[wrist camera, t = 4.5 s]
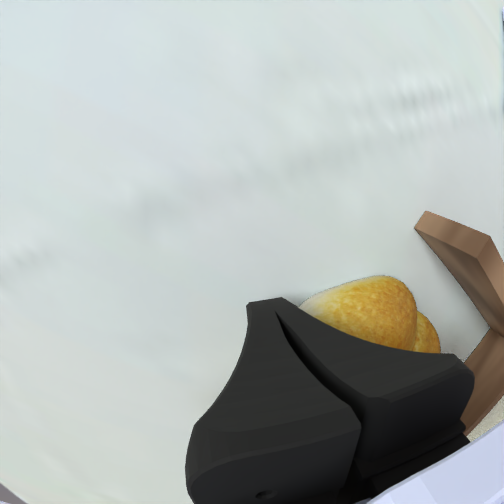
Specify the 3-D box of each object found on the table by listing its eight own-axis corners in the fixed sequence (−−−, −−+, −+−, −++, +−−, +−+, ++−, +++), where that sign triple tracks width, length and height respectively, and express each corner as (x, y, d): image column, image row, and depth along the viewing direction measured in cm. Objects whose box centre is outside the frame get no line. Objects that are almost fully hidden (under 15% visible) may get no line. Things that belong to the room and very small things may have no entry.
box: (229, 436, 15) (241, 496, 11) (425, 210, 13) (490, 236, 9) (366, 466, 19) (386, 503, 16) (501, 321, 17) (537, 348, 13)
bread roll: (359, 233, 13) (418, 268, 9) (433, 338, 16) (475, 376, 12) (218, 366, 13) (230, 434, 10) (329, 430, 17) (353, 479, 13)
